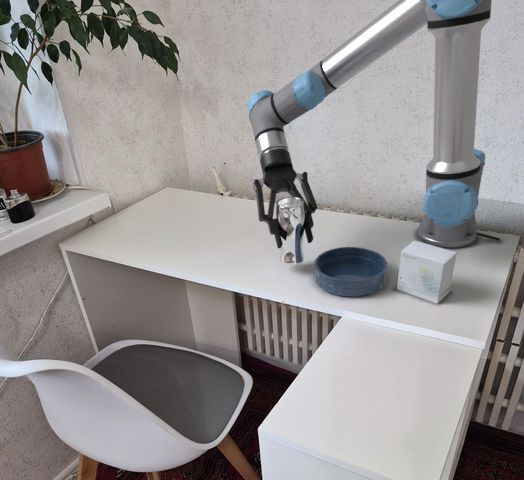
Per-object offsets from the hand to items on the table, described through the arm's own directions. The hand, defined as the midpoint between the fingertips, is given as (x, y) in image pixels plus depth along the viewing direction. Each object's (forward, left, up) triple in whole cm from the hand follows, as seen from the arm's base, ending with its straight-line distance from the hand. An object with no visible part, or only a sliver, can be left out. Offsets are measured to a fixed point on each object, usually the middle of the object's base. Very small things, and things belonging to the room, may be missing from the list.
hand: (295, 243), depth 122 cm
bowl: (-13, +1, -9) cm, 16 cm away
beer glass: (+1, -3, -6) cm, 7 cm away
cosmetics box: (-30, +5, -9) cm, 32 cm away
